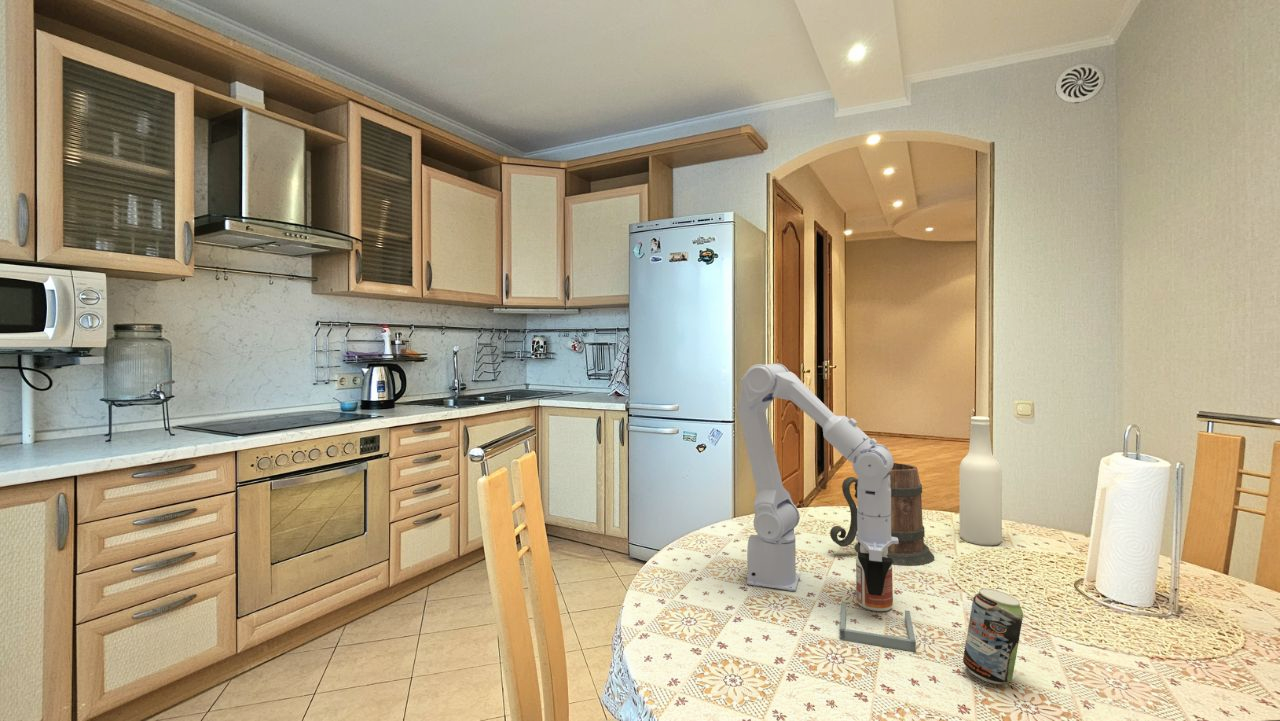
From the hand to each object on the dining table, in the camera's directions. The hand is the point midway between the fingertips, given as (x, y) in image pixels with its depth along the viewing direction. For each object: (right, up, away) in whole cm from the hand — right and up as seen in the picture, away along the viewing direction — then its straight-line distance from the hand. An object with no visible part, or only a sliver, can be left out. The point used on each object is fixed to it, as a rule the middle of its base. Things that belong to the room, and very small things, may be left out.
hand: (874, 586), depth 102 cm
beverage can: (+7, -4, -22) cm, 24 cm away
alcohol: (+40, -3, +33) cm, 52 cm away
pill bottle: (0, -4, 0) cm, 4 cm away
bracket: (-3, -4, -9) cm, 10 cm away
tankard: (+12, -3, +26) cm, 29 cm away
